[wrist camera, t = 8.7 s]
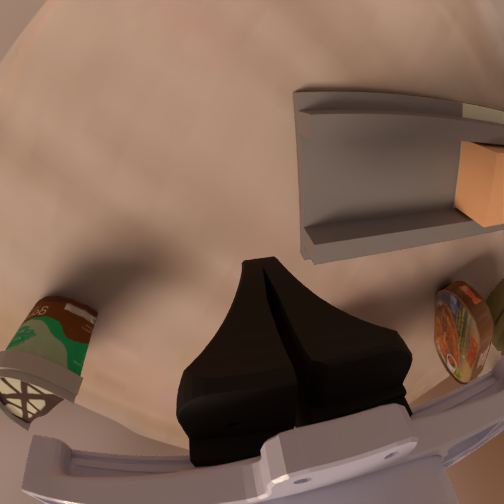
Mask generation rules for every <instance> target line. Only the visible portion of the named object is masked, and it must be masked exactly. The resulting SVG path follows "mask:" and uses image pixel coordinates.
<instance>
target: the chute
mask: <svg viewBox="0 0 504 504" xmlns="http://www.w3.org/2000/svg"><path fill="white" fill-rule="evenodd" d="M293 100H294V113H295V127H296V143H297V160H298V180H299V204H300V237H301V254H302V256H303V258H304V260H307V259H311V260H312V262H313V264H314V265H316V264H322V263H328V262H333V261H339V260H345V259H351V258H357V257H363V256H368V255H374V254H379V253H385V252H391V251H396V250H402V249H407V248H413V247H418V246H423V245H429V244H434V243H439V242H444V241H449V240H455V239H460V238H465V237H470V236H475V235H480V234H485V233H490V232H494V231H499V230H504V224H499V225H494V226H488V227H482V226H481V225H480V224H478V223H477V222H476V221H474V220H473V219H471V218H470V217H469V216H467V215H466V214H464V213H463V212H462V211H460V210H459V209H457V208H456V207H454V204H455V197H456V191H457V184H458V177H459V168H460V159H461V148H462V141H470V142H481V143H491V144H500V145H504V111H500V110H496V109H491V108H487V107H482V106H478V105H473V104H467V103H462V102H456V101H450V100H444V99H437V98H430V97H421V96H413V95H402V94H390V93H375V92H349V91H314V92H293Z"/></svg>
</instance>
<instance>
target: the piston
mask: <svg viewBox="0 0 504 504" xmlns="http://www.w3.org/2000/svg"><path fill="white" fill-rule="evenodd" d="M486 303H487V305H488V307H489V309H490V312H491V314H492V318H493V323H494V334H493V338H492V341H491V342H492V344H493V345H494V346H495V348H496V349H497V350H498V351H502V352H501V355H502V356H503V355H504V279H503V280H502V281H501V282H500V283H499V284H498V285H497V286H496V288H495V289H494V290H493V292H492V293H491V295H490V296H489V298H488V299H487V301H486Z"/></svg>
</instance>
